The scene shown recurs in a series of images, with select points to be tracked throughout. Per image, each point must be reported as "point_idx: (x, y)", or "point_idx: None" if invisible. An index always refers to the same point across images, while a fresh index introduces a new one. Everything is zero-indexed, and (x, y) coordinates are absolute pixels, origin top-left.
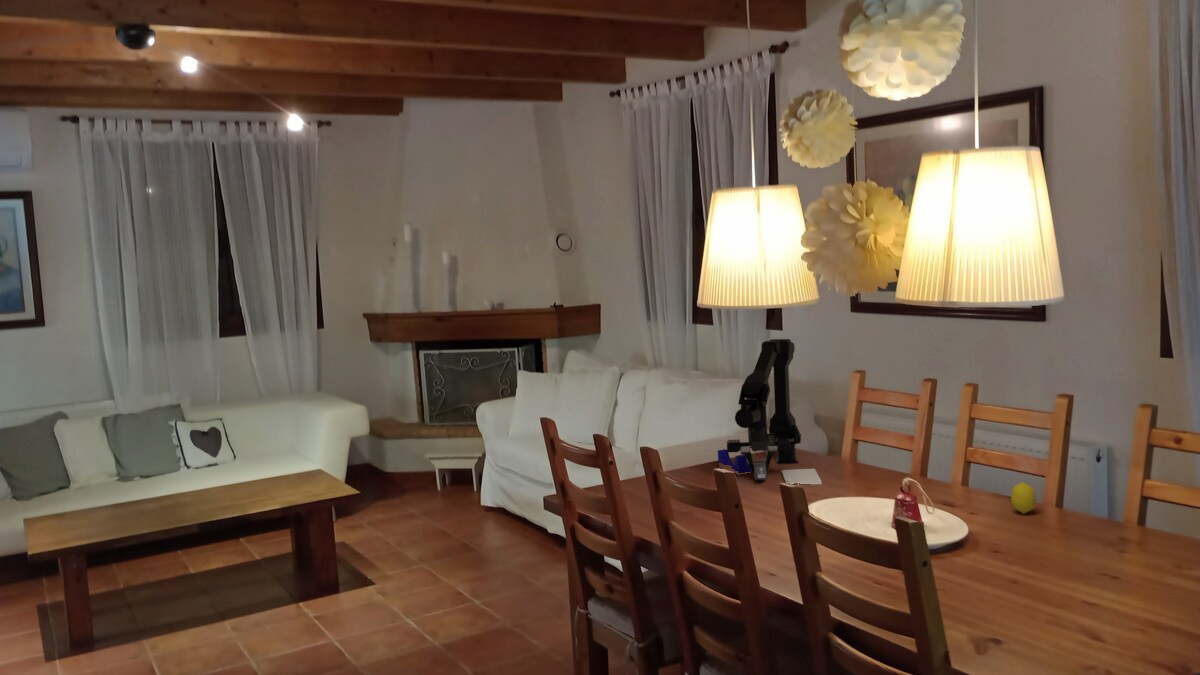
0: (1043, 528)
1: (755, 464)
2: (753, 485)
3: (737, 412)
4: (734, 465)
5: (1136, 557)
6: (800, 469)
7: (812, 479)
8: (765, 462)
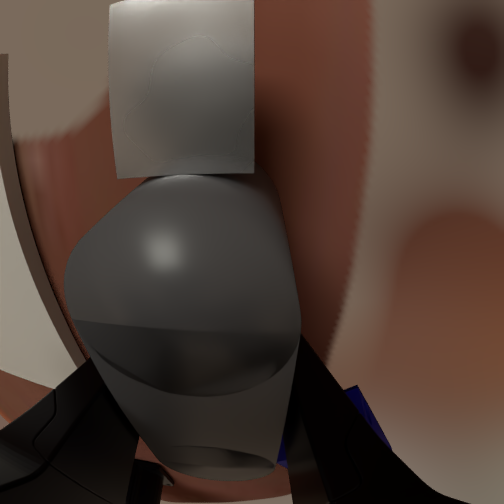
0: None
1: (259, 401)
2: (309, 46)
3: None
4: None
5: None
6: (23, 376)
7: None
8: (136, 434)
